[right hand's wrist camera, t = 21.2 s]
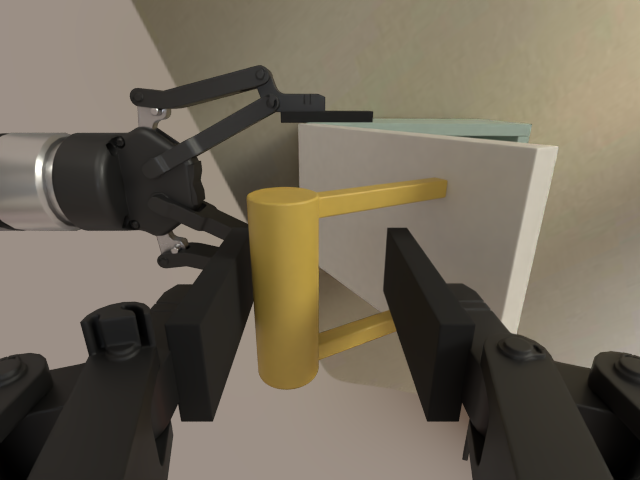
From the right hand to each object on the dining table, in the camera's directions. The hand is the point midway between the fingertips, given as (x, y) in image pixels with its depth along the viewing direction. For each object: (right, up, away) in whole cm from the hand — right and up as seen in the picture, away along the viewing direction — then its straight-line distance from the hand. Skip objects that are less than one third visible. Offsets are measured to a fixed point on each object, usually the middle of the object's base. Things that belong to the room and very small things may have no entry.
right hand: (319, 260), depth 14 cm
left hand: (+4, +5, +14) cm, 16 cm away
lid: (+4, +2, +5) cm, 7 cm away
